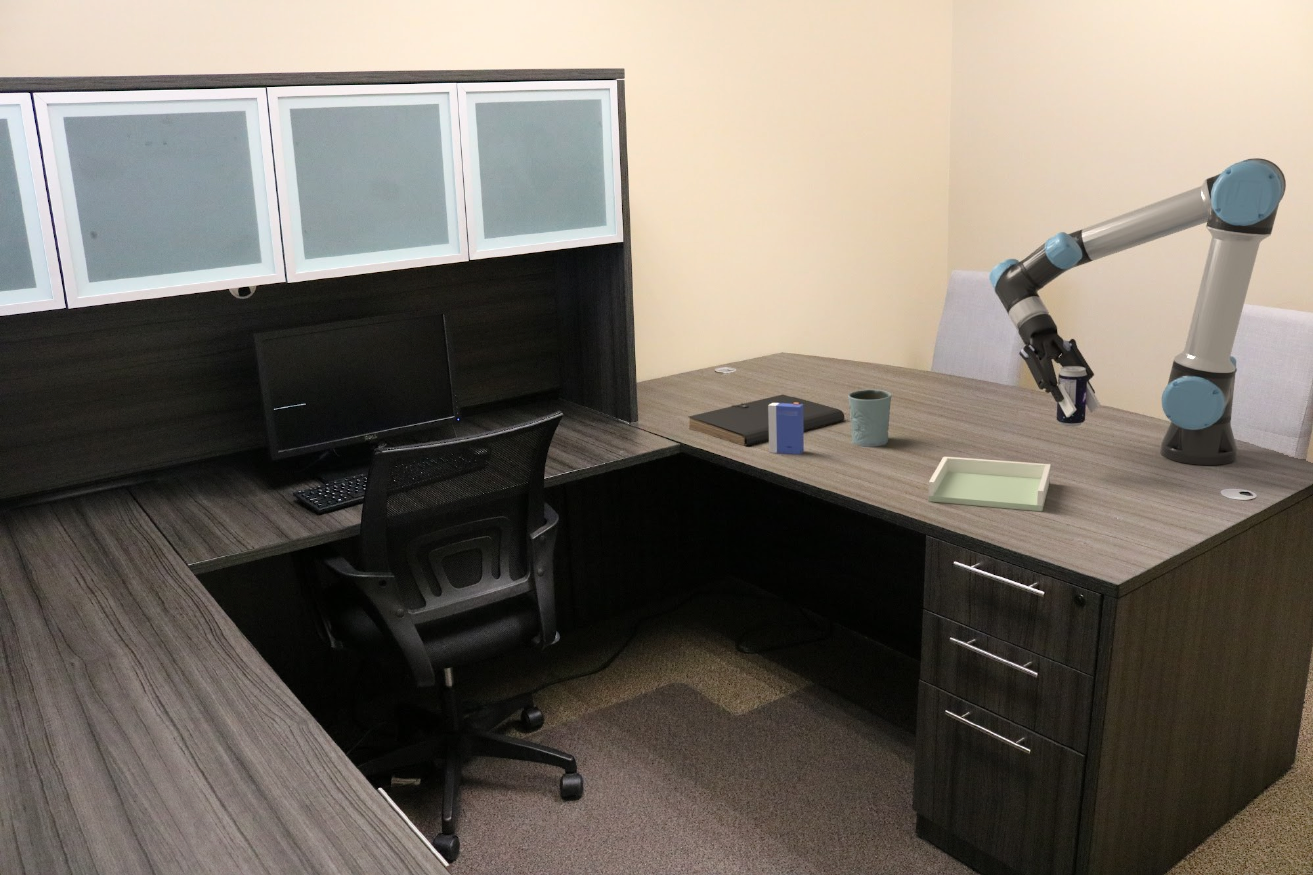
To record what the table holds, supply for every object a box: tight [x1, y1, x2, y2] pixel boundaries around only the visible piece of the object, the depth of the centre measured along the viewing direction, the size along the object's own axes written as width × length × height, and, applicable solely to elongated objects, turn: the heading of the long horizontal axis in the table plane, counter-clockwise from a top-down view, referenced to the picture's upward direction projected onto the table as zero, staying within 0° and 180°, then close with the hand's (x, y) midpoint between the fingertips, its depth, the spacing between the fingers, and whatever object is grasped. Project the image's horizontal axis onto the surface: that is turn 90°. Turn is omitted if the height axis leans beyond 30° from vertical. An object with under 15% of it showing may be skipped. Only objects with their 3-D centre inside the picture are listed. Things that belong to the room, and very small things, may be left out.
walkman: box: [768, 403, 805, 455], centre depth 258 cm, size 8×3×12 cm, turn 66°
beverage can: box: [1056, 366, 1087, 427], centre depth 229 cm, size 6×6×12 cm
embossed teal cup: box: [847, 388, 892, 448], centre depth 263 cm, size 10×10×12 cm
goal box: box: [927, 456, 1052, 512], centre depth 225 cm, size 22×18×4 cm
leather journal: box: [688, 393, 845, 447], centre depth 284 cm, size 33×4×24 cm
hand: (1083, 411), depth 227 cm, fingers closed on beverage can, 6 cm apart
